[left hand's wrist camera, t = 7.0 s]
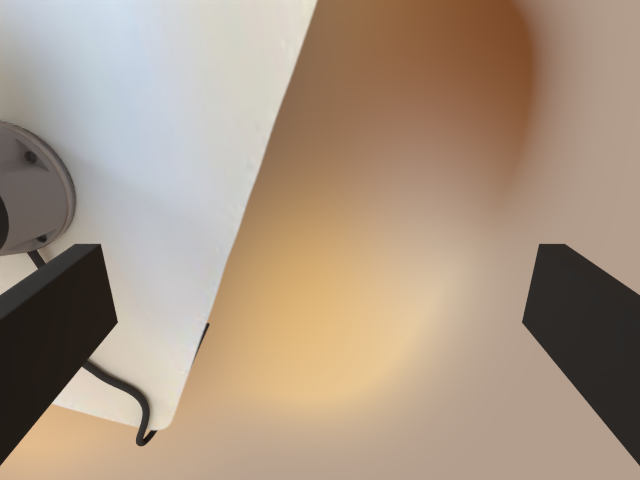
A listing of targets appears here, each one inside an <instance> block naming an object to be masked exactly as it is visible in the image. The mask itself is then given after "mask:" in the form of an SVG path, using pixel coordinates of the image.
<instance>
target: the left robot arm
mask: <svg viewBox="0 0 640 480" xmlns="http://www.w3.org/2000/svg"><path fill="white" fill-rule="evenodd" d="M74 210H75V192H74V187H73V184H72V181H71V178H70V176H69V173H68V171H67V169H66V168H65V166H64V164H63V163H62V161H61V160H60V158H59V157H58V156H57V155H56V153H55V152H54V151H53V150H52V149H51V148H50V147H49V146H48V145H47V144H46V143H45V142H43V141H42V140H41V139H39V138H38V137H37V136H35V135H34V134H32V133H30V132H28V131H27V130H25V129H23V128H20V127H18V126H15V125H13V124H9V123H5V122H0V256H5V255H12V254H19V253H25V252H27V253H28V255H29V256H30V258H31V259H32V261H33V262H34V264H35V265H36V266H37V268H38V270H36V271H35V272H34V273H32V274H31V275H29V276H28V277H26V278H25V279H23V280H22V281H20V282H19V283H17V284H16V285H15V286H13V287H12V288H10V289H9V290H7V291H6V292H4V293H3V294H1V295H0V465H1V464H2V463H3V462H4V461H5V459H6V458H7V457H8V456H9V454H10V453H11V452H12V451H13V450H14V448H15V447H16V446H17V445H18V444H19V442H20V441H21V440H22V439H23V437H24V436H25V435H26V434H27V432H28V431H29V430H30V429H31V428H32V426H33V425H34V424H35V423H36V422H37V420H38V419H39V418H40V417H41V415H42V414H43V413H44V412H45V411H46V409H47V408H48V407H49V406H50V404H51V403H52V402H53V401H54V400H55V398H56V397H57V396H58V395H59V394H60V392H61V391H62V390H63V389H64V387H65V386H66V385H67V384H68V383H69V381H70V380H71V379H72V378H73V376H74V375H75V374H76V373H77V372H78V370H79V369H80V368H81V367H83V368H85V369H86V370H88V371H89V372H90V373H92V374H93V375H95V376H96V377H97V378H99V379H100V380H102V381H104V382H106V383H108V384H110V385H112V386H114V387H116V388H118V389H121V390H123V391H125V392H127V393H128V394H130V395H132V396H133V397H134V398H135V399H136V400H137V401H138V402H139V403H140V405H141V407H142V411H143V416H142V422H141V425H140V428H139V431H138V434H137V437H136V444H137V445H138V446H144V445H146V444H147V443H148V442H149V441H150V440H151V439H152V438H153V436H154V435H155V434H156V432H157V431H158V430H151V431H150V432H149V433H148V434H147V436H146V437H145V438H144V439H143V437H144V434H145V431H146V428H147V425H148V421H149V415H150V411H149V405H148V403H147V400H146V399H145V397H144V396H143V395H142V394H141V393H140V392H139V391H138V390H136V389H135V388H133V387H132V386H130V385H128V384H126V383H123V382H121V381H119V380H117V379H115V378H113V377H111V376H109V375H107V374H105V373H104V372H103V371H101V370H100V369H98V368H97V367H96V366H94V365H93V364H91V363H90V362H88V361H87V359H88V358H89V357H90V356H91V355H92V353H93V352H94V351H95V350H96V348H97V347H98V346H99V345H100V344H101V342H102V341H103V340H104V339H105V338H106V336H107V335H108V334H109V333H110V331H111V330H112V329H113V328H114V327H115V325H116V324H117V323H118V321H117V316H116V311H115V307H114V302H113V298H112V293H111V289H110V284H109V280H108V275H107V270H106V266H105V261H104V257H103V252H102V248H101V244H74V245H73V246H71V247H70V248H69V249H67V250H66V251H64V252H63V253H61V254H60V255H58V256H57V257H55V258H54V259H52V260H51V261H50V262H48V263H47V264H45V262H44V261H43V259H42V258H41V256H40V255H39V253H38V252H37V249H40V248H42V247H44V246H46V245H48V244H49V243H51V242H52V241H54V240H56V239H57V238H58V237H60V236H61V235H62V234H63V233H64V232H65V231H66V229H67V228H68V226H69V225H70V223H71V221H72V218H73V215H74ZM522 323H523V324H524V325H525V326H526V328H527V329H528V330H529V331H530V333H531V334H532V335H533V336H534V337H535V339H536V340H537V341H538V342H539V344H540V345H541V346H542V347H543V348H544V350H545V351H546V352H547V353H548V355H549V356H550V357H551V358H552V359H553V361H554V362H555V363H556V364H557V365H558V367H559V368H560V369H561V370H562V372H563V373H564V374H565V375H566V376H567V378H568V379H569V380H570V381H571V383H572V384H573V385H574V386H575V387H576V389H577V390H578V391H579V392H580V394H581V395H582V396H583V397H584V398H585V400H586V401H587V402H588V403H589V404H590V406H591V407H592V408H593V409H594V411H595V412H596V413H597V414H598V415H599V417H600V418H601V419H602V420H603V422H604V423H605V424H606V425H607V426H608V428H609V429H610V430H611V431H612V432H613V434H614V435H615V436H616V437H617V439H618V440H619V441H620V442H621V444H622V445H623V446H624V447H625V448H626V450H627V451H628V452H629V453H630V454H631V456H632V457H633V458H634V459H635V460H636V462H637V463H638V464H639V465H640V295H639V294H637V293H636V292H634V291H633V290H631V289H630V288H628V287H627V286H625V285H624V284H623V283H621V282H620V281H618V280H617V279H615V278H614V277H612V276H611V275H609V274H608V273H606V272H605V271H604V270H602V269H601V268H599V267H598V266H596V265H595V264H593V263H592V262H590V261H589V260H588V259H586V258H585V257H583V256H582V255H580V254H579V253H577V252H576V251H574V250H573V249H571V248H570V247H568V246H567V245H566V244H539V248H538V252H537V257H536V261H535V266H534V270H533V275H532V280H531V284H530V289H529V293H528V298H527V302H526V307H525V311H524V316H523V321H522ZM209 325H210V324H209V323H206V325H205V328H204V331H203V333H202V336H201V339H200V342H199V345H198V348H197V351H196V354H195V357H194V360H195V358H196V355H197V353H198V350H199V348H200V345H201V343H202V341H203V339H204V336H205V334H206V332H207V330H208V327H209ZM194 360H193V362H194ZM192 365H193V363H192ZM191 367H192V366H191ZM190 370H191V369H190ZM189 372H190V371H189Z"/></svg>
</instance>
